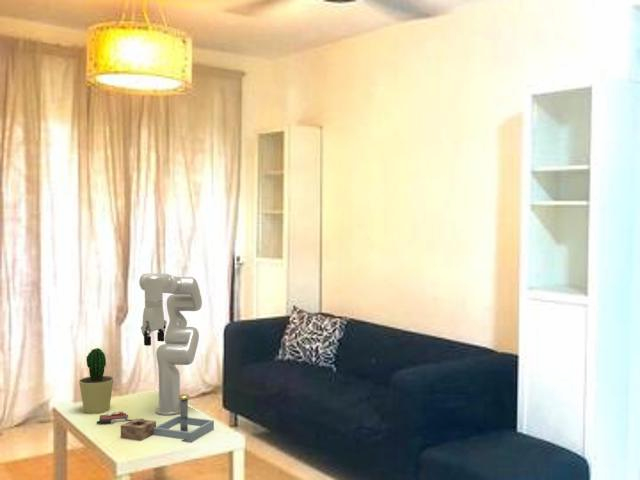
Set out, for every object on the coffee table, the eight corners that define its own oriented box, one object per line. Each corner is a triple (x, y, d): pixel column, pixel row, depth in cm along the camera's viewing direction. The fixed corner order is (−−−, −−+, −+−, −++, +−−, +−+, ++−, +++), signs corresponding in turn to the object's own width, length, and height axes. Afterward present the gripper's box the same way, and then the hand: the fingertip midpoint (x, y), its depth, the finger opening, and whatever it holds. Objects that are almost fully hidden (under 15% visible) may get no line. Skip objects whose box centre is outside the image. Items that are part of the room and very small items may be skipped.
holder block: (136, 432, 277) (136, 418, 277) (156, 435, 273) (156, 421, 273) (120, 440, 268) (120, 425, 267) (141, 443, 264) (140, 428, 264)
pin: (182, 428, 279) (182, 393, 279) (191, 430, 277) (191, 395, 277) (176, 432, 275) (176, 396, 274) (185, 433, 273) (185, 397, 273)
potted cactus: (100, 404, 320) (99, 342, 319) (120, 409, 311) (120, 346, 310) (72, 411, 308) (71, 347, 307) (92, 417, 299) (91, 351, 298)
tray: (178, 424, 288) (178, 415, 288) (213, 429, 281) (213, 420, 281) (153, 437, 271) (153, 427, 271) (190, 442, 264) (190, 433, 264)
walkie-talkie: (96, 427, 286) (144, 423, 291) (96, 417, 285) (143, 413, 291) (97, 421, 294) (143, 417, 299) (97, 411, 294) (143, 408, 299)
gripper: (158, 301, 294) (158, 339, 295) (134, 306, 278) (134, 346, 279) (172, 301, 291) (172, 340, 292) (149, 307, 275) (149, 347, 276)
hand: (154, 343), depth 285 cm, fingers open, 9 cm apart
